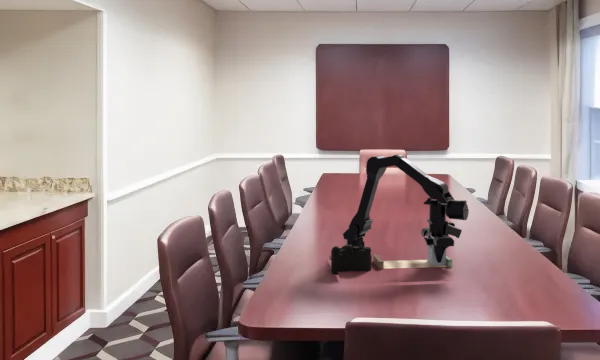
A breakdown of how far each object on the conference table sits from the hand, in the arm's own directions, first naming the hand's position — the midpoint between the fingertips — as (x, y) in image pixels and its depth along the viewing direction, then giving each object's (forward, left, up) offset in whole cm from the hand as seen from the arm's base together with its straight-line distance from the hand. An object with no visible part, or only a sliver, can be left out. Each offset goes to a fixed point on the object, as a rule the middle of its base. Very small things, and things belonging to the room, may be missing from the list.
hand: (436, 260), depth 200 cm
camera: (-32, -2, -2) cm, 32 cm away
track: (-9, 0, -2) cm, 9 cm away
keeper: (0, 0, -1) cm, 1 cm away
